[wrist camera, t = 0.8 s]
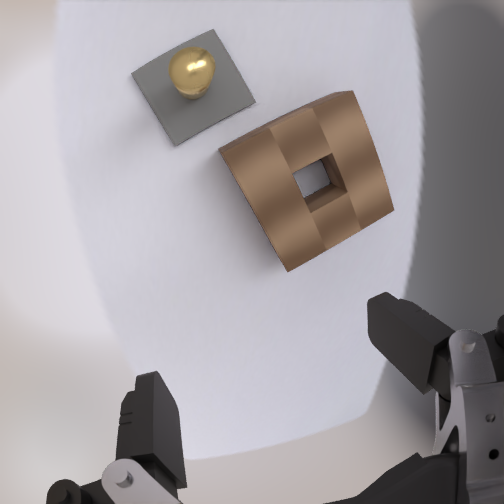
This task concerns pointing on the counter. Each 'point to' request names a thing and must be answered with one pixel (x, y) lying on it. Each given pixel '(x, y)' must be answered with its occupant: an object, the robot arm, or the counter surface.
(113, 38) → the counter surface
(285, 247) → the walnut block
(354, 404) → the counter surface
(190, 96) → the brass pin
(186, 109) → the rubber mat
